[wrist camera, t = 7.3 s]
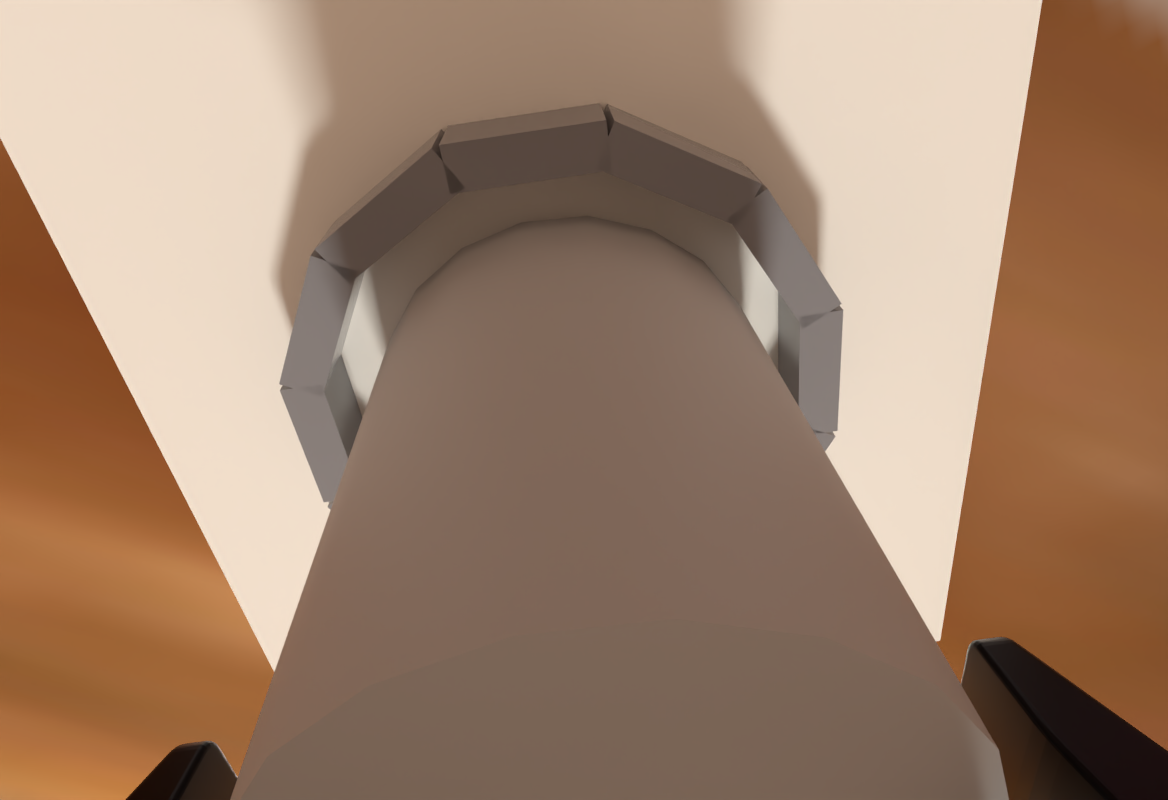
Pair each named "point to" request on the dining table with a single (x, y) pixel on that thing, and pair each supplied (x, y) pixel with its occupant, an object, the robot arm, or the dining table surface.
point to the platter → (519, 215)
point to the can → (601, 563)
